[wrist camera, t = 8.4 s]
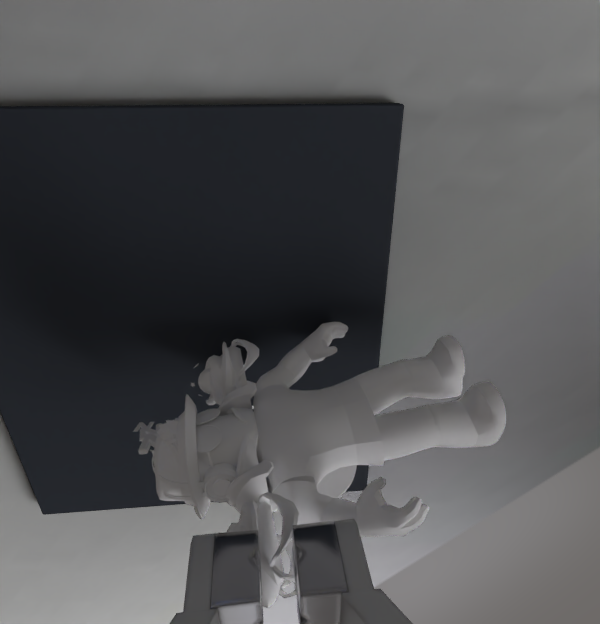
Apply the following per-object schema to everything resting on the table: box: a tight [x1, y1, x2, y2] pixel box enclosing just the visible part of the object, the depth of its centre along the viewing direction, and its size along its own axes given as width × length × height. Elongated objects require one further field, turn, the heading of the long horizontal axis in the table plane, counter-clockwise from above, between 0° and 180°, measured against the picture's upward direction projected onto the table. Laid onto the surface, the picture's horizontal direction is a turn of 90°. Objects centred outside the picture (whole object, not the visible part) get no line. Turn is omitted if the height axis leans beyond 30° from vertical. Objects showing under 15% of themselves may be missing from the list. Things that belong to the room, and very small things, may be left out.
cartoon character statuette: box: [133, 322, 506, 608], centre depth 15 cm, size 9×4×12 cm
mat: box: [0, 103, 404, 514], centre depth 18 cm, size 16×18×1 cm
